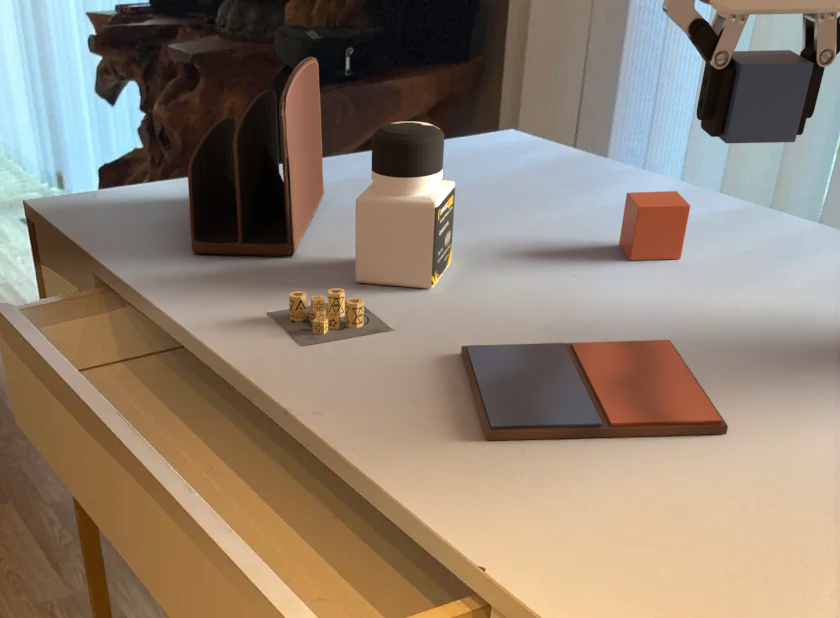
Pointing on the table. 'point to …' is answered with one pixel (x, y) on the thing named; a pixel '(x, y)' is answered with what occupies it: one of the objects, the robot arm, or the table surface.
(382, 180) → the medicine bottle
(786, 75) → the slate-blue block
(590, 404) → the sorting board
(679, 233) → the terracotta block
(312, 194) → the letter holder
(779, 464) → the table surface
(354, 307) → the dice set
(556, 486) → the table surface
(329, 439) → the table surface
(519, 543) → the table surface
